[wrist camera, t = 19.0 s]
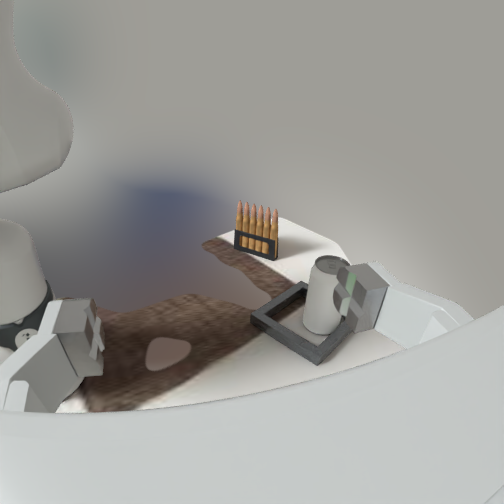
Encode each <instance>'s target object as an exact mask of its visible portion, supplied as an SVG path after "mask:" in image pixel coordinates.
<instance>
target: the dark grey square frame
mask: <svg viewBox="0 0 504 504" xmlns="http://www.w3.org/2000/svg"><path fill="white" fill-rule="evenodd" d="M307 291H308V284H307V283H305V282H303V281H300V282H299V283H297V284H296V285H294V286H293V287H291V288H290V289H288V290H287V291H285V292H284V293H282V294H281V295H279V296H277V297H276V298H274V299H273V300H271V301H270V302H268V303H267V304H265V305H264V306H262V307H260V308H259V309H257V310H256V311H254V312H253V313H251V319H250V323H252V324H253V325H255V326H256V327H258V328H259V329H261V330H262V331H264V332H265V333H267V334H268V335H270V336H271V337H273V338H274V339H276V340H278V341H279V342H281V343H282V344H284V345H285V346H287V347H288V348H290V349H291V350H293V351H295V352H296V353H298V354H299V355H301V356H302V357H304V358H306V359H307V360H309V361H310V362H312V363H314V364H315V365H317V366H318V365H319V364H320V363H321V362H322V361H323V360H324V359H325V358H326V357H327V356H328V355H329V354H330V353H331V352H332V351H333V350H334V349H335V348H336V347H337V346H338V345H339V344H340V343H341V342H342V341H343V340H344V339H345V338H346V337H347V336H348V334H349V333H350V332H351V331H352V330H351V328H350V327H349V326H348V324H347V323H346V322H345V321H344V322H343V323H342V324H341V325H340V326H339V327H338V328H337V329H336V330H335V331H334V332H333V333H332V334H331V335H330V336H329V337H327V338H326V339H325V340H324V341H323V342H322V343H321V344H320V345H319V346H318V347H317V346H315V345H313V344H312V343H310V342H308V341H307V340H305V339H304V338H302V337H300V336H299V335H297V334H295V333H294V332H292V331H290V330H289V329H287V328H286V327H284V326H282V325H281V324H279V323H277V322H276V321H274V320H273V319H271V317H272V316H273V315H275V314H276V313H278V312H279V311H281V310H282V309H283V308H285V307H286V306H288V305H289V304H291V303H292V302H293V301H295V300H296V299H298V298H299V297H300V296H303V297H305V298H306V297H307ZM342 318H344V319H346V316H344V315H342Z"/></svg>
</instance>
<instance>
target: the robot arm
mask: <svg viewBox="0 0 504 504" xmlns="http://www.w3.org/2000/svg"><path fill="white" fill-rule="evenodd" d="M13 3H14V0H0V193H2V192H6V191H9V190H11V189H15V188H18V187H21V186H24V185H28V184H30V183H32V182H34V181H35V180H37V179H39V178H41V177H43V176H45V175H47V174H49V173H51V172H53V171H55V170H57V169H59V168H60V167H61V166H62V164H63V163H64V161H65V159H66V158H67V155H68V153H69V151H70V148H71V144H72V139H73V121H72V116H71V113H70V110H69V108H68V106H67V104H66V103H65V101H64V100H63V99H62V97H61V96H59V95H58V94H57V93H56V92H55V91H53V90H51V89H49V88H47V87H45V86H44V85H42V84H41V83H39V82H38V81H37V80H36V79H34V78H33V77H32V75H30V74H29V72H28V71H27V70H26V68H25V67H24V65H23V64H22V62H21V60H20V58H19V56H18V53H17V50H16V47H15V43H14V38H13V37H14V36H13ZM336 278H337V280H338V282H339V283H338V284H337V285H336V287H335V288H334V292H333V302H334V306H335V308H336V310H337V311H338V312H339V313H340V314H342V315H344V316H346V319H345V322H346V323H347V324H348V326H349V327H350V328H351V330H352V331H353V332H354V333H358V332H362V331H366V330H370V329H374V330H375V331H377V332H379V333H381V334H382V335H384V336H386V337H387V338H389V339H391V340H392V341H394V342H396V343H397V344H399V345H401V346H402V347H404V348H406V349H405V350H403V351H400V352H397V353H395V354H392V355H389V356H386V357H384V358H381V359H378V360H375V361H372V362H369V363H366V364H363V365H360V366H357V367H354V368H350V369H347V370H344V371H341V372H337V373H334V374H330V375H327V376H323V377H320V378H316V379H313V380H309V381H305V382H301V383H297V384H293V385H289V386H285V387H281V388H277V389H272V390H268V391H263V392H258V393H254V394H249V395H244V396H239V397H233V398H228V399H222V400H216V401H210V402H204V403H197V404H190V405H182V406H174V407H166V408H156V409H146V410H134V411H120V412H99V413H55V412H56V410H57V409H58V407H59V406H60V404H61V403H62V401H63V400H64V398H66V397H68V396H69V395H70V394H72V393H73V392H74V391H75V390H76V389H77V388H78V386H79V385H80V384H81V382H82V381H83V379H84V377H85V376H98V375H103V361H104V359H103V356H102V353H101V352H102V351H103V350H104V349H105V335H104V329H103V325H102V321H101V319H99V318H98V317H97V316H96V315H97V306H96V303H95V301H94V299H93V298H83V299H69V300H55V296H54V293H53V291H52V289H51V287H50V285H49V283H48V282H47V280H45V278H44V275H43V272H42V269H41V266H40V262H39V259H38V256H37V252H36V249H35V245H34V242H33V239H32V237H31V235H30V234H29V233H28V231H27V230H26V229H25V228H23V227H22V226H21V225H19V224H17V223H15V222H12V221H9V220H3V219H0V504H504V305H503V306H501V307H499V308H497V309H495V310H493V311H491V312H489V313H487V314H485V315H483V316H481V317H479V318H477V319H474V318H473V317H472V316H470V315H469V314H468V313H467V312H466V311H465V310H464V309H463V308H462V307H461V306H460V305H459V304H458V303H456V302H453V301H450V300H448V299H445V298H443V297H440V296H438V295H435V294H432V293H429V292H427V291H424V290H422V289H419V288H417V287H414V286H411V285H409V284H406V283H403V284H402V283H401V282H400V281H399V280H397V279H396V278H395V277H394V276H393V275H392V274H391V273H390V272H389V271H388V270H386V269H385V268H384V267H383V266H382V265H381V264H380V263H379V262H376V261H373V262H367V263H363V264H359V265H352V266H346V267H340V269H339V270H338V272H337V277H336Z"/></svg>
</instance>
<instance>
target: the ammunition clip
mask: <svg viewBox="0 0 504 504" xmlns="http://www.w3.org/2000/svg"><path fill="white" fill-rule="evenodd" d="M234 249H237V250H240V251H243V252H246V253H250V254H253V255H256V256H259V257H262V258H266V259H269V260H272V261H274V260H275V259H276V258H277V257H278V213H277V209H275V210H274V213H273V218H272V225H271V214H270V208H269V207H268V208H267V210H266V215H265V222H264V221H263V207H262V205H261V206H260V208H259V212H258V220H257V219H256V206H255V204H253V206H252V210H251V219H250V217H249V205H248V202H246V204H245V208H244V218H243V212H242V203H241V201H239V203H238V208H237V217H236V229H235V237H234Z"/></svg>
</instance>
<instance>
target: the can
mask: <svg viewBox="0 0 504 504" xmlns="http://www.w3.org/2000/svg"><path fill="white" fill-rule="evenodd" d="M346 266H350V264H349V263H348V262H347V261H346V260H344V259H342V258H340V257H337V256H331V255H326V256H321V257H318V258H317V259H316V260H315V264H314V266H313V267H312V269H311V273H310V279H309V285H308V291H307V297H306V303H305V309H304V315H303V324H304V326H305V327H306V328H307V329H308V330H309V331H311V332H313V333H315V334H318V335H327V334H331V333H333V332H334V331H335V330H336V329H337V328H338V327H339V324H340V320H341V317H342V314H340V313H339V312H338V311H337V310H336V308H335V306H334V302H333V292H334V288H335V287H336V285H337V284H338V283H339V282H338V280H337V278H336V277H337V272H338V270H339V269H340V267H346Z"/></svg>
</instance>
